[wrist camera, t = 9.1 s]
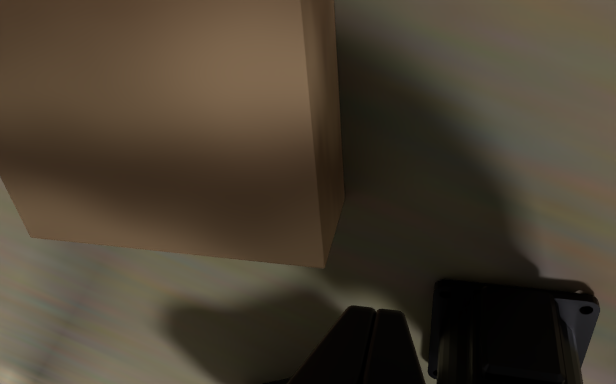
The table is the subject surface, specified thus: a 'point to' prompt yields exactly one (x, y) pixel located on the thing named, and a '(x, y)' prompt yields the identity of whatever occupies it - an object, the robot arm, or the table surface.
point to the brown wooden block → (174, 125)
